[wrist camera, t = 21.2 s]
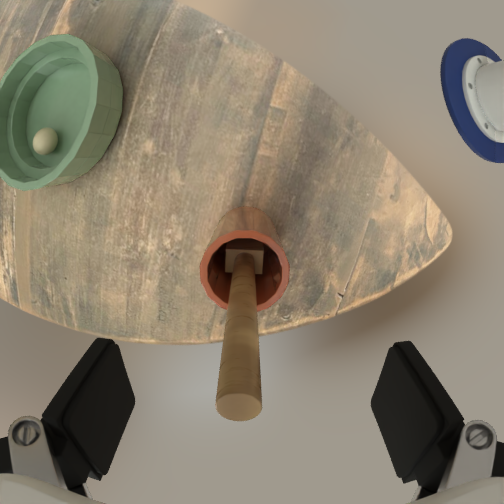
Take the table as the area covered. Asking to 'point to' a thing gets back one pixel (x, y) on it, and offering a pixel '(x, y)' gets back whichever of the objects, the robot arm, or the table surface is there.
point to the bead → (45, 141)
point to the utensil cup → (274, 261)
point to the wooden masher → (241, 335)
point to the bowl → (57, 111)
